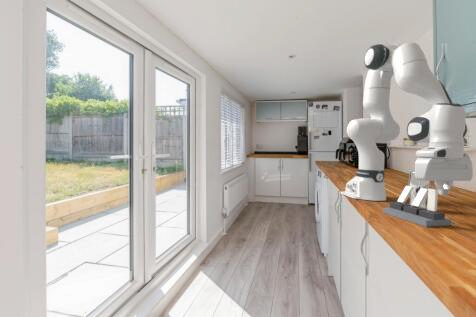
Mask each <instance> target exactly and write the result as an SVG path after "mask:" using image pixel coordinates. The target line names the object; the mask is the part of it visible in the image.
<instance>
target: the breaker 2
mask: <svg viewBox="0 0 476 317" xmlns="http://www.w3.org/2000/svg"><path fill="white" fill-rule="evenodd" d="M426 196H427V197H428V189H423V188H421V189H420V191H419V192H418V194H417V196H416V198H415V199H414V201H413V203H412V206H414V207H418V208H420V206H421V205H422V203H423V201H424V199H425V197H426ZM427 197H426V198H427Z"/></svg>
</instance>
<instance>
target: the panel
mask: <svg viewBox="0 0 476 317" xmlns="http://www.w3.org/2000/svg"><path fill="white" fill-rule="evenodd" d="M382 209H383V210H382V211H383V212H382V213H383V214H385V215H389V216H392V217H395V218H398V219H400V220H404V221H408V222H409V223H410V222H411V223H413V224H416V225H419V226H422V227H425V228H429V227H430V228H431V227H448V226H452V218H448V217H445V216H446V213H444V212H441V211H438V210H437V211H431V210H427V208H426V209H425V208H421V207H420V208H418V207H414V206H411V205H410V204H409V203H406V202H405V204H403V203H399V202H398V201H390V202H389V207H387V206H386V207H383V208H382Z"/></svg>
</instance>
